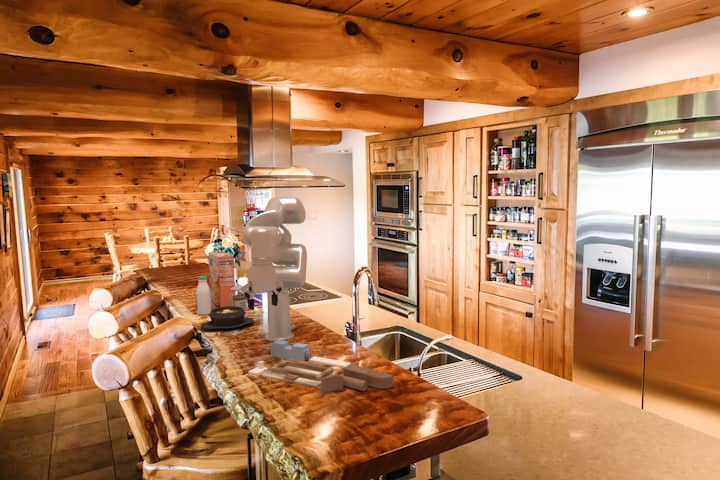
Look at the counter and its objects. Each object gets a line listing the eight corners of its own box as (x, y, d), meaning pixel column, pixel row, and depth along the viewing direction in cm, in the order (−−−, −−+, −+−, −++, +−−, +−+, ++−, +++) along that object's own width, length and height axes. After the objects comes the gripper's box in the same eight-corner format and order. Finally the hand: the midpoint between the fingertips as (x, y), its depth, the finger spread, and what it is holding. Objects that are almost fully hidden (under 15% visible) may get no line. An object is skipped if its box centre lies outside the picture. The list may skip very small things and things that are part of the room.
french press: (252, 313, 257) (251, 266, 255) (238, 318, 247) (237, 269, 245) (237, 311, 262) (236, 265, 259) (223, 316, 251) (221, 268, 249)
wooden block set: (348, 360, 168) (394, 370, 158) (348, 376, 168) (394, 387, 158) (318, 375, 154) (366, 388, 144) (318, 393, 154) (366, 406, 144)
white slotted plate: (259, 369, 176) (259, 359, 175) (268, 371, 174) (268, 361, 174) (248, 374, 170) (248, 364, 170) (257, 376, 169) (257, 366, 168)
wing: (314, 359, 187) (314, 356, 186) (351, 366, 179) (351, 362, 179) (308, 362, 183) (308, 359, 183) (345, 369, 175) (345, 366, 175)
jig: (289, 362, 182) (289, 356, 182) (340, 371, 172) (340, 365, 172) (262, 376, 168) (262, 370, 168) (316, 387, 158) (316, 381, 158)
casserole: (206, 335, 217) (205, 317, 216) (196, 326, 233) (195, 309, 232) (259, 327, 230) (259, 309, 229) (246, 318, 246) (246, 302, 245)
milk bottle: (214, 312, 259) (213, 275, 258) (205, 316, 252) (204, 277, 250) (202, 311, 262) (201, 274, 260) (193, 314, 255) (191, 277, 253)
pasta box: (210, 304, 279) (208, 252, 276) (224, 302, 283) (222, 251, 280) (220, 312, 259) (218, 256, 256) (235, 310, 263) (233, 255, 260)
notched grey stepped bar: (271, 356, 189) (270, 342, 189) (277, 353, 193) (277, 339, 192) (306, 362, 182) (306, 348, 182) (312, 359, 186) (312, 345, 185)
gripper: (277, 258, 188) (278, 302, 190) (235, 263, 177) (237, 309, 178) (287, 260, 182) (288, 305, 184) (245, 265, 171) (246, 313, 173)
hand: (263, 307), depth 181 cm, fingers open, 9 cm apart
